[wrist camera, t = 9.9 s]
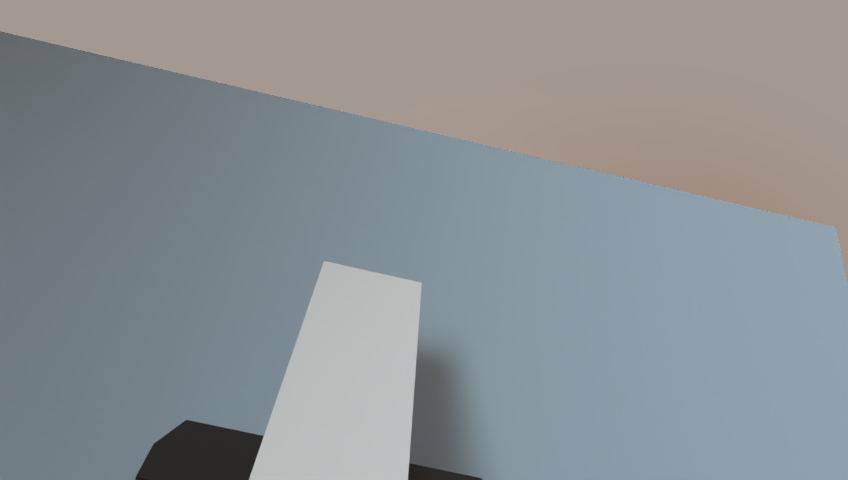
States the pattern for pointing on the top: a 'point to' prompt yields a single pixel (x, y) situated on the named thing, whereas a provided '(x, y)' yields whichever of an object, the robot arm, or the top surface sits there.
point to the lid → (400, 257)
